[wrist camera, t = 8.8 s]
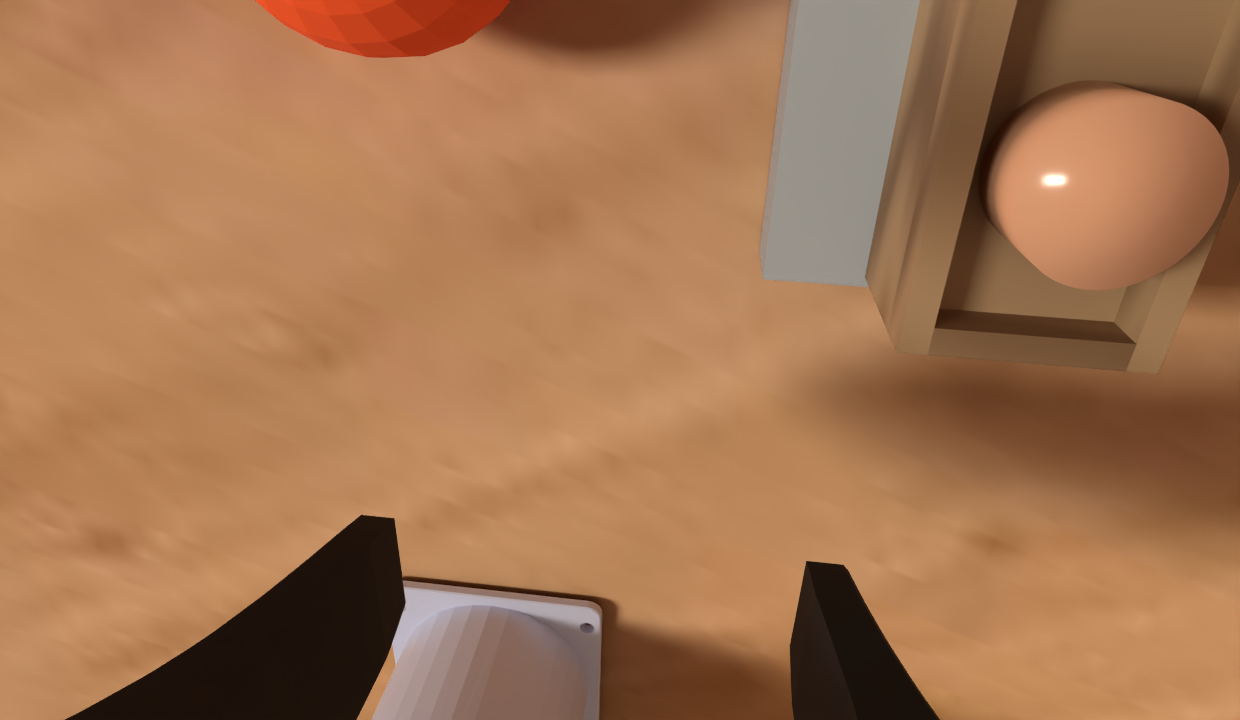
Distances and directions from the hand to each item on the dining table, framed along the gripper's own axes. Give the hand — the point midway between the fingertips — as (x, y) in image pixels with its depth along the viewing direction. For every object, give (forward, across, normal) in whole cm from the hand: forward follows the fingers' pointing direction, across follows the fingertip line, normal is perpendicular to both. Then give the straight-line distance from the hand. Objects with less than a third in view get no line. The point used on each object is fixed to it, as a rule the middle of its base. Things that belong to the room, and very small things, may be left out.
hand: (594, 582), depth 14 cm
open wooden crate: (+8, -8, -6) cm, 13 cm away
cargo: (+5, -8, -6) cm, 12 cm away
